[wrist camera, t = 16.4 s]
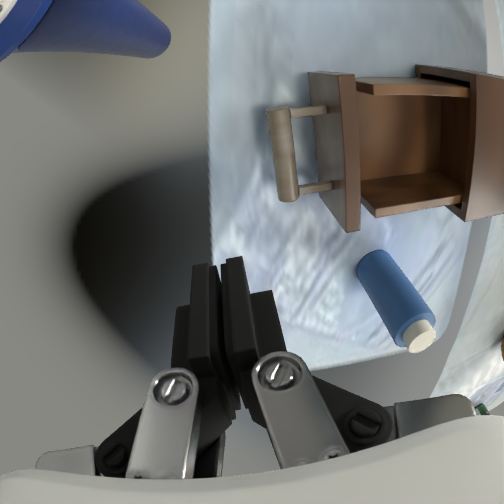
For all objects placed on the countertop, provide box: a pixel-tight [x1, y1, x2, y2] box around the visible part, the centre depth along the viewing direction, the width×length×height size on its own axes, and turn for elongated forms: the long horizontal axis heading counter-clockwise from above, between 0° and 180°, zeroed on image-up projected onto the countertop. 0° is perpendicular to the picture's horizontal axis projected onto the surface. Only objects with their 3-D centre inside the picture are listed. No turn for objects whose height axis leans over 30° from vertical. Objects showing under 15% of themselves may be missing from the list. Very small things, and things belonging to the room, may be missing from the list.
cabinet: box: [415, 65, 504, 222], centre depth 23 cm, size 15×13×9 cm
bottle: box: [357, 250, 436, 353], centre depth 30 cm, size 5×5×12 cm
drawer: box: [266, 71, 470, 233], centre depth 23 cm, size 18×11×7 cm, turn 99°
